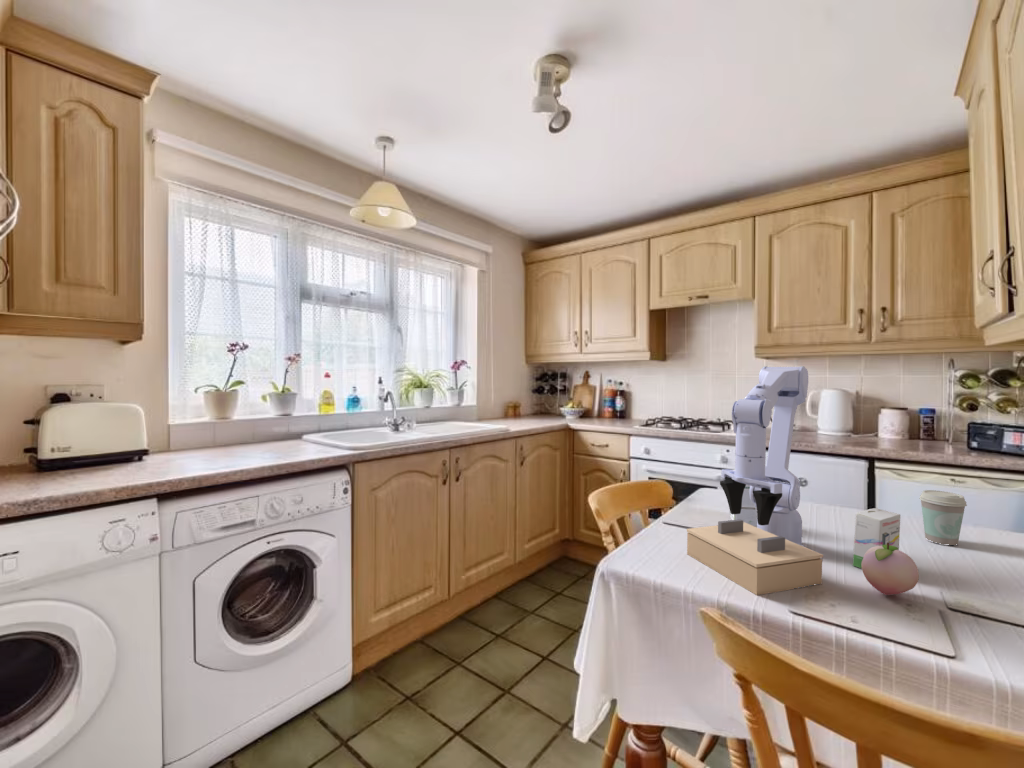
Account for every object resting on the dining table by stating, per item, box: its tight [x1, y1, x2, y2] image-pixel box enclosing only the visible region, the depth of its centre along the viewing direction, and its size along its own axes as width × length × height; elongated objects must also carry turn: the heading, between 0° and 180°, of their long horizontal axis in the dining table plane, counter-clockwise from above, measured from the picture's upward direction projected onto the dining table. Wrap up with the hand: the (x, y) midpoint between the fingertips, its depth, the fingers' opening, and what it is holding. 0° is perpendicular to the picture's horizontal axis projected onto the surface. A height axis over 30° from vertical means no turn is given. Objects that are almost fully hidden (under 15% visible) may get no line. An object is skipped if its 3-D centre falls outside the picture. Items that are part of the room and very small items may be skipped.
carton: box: [686, 532, 823, 596], centre depth 97 cm, size 16×20×5 cm
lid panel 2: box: [718, 536, 824, 568], centre depth 92 cm, size 16×10×3 cm, turn 106°
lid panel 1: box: [686, 519, 777, 547], centre depth 102 cm, size 16×10×3 cm, turn 106°
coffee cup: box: [919, 489, 968, 545], centre depth 112 cm, size 8×9×12 cm
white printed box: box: [729, 484, 757, 527], centre depth 126 cm, size 6×6×14 cm
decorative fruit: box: [861, 542, 920, 596], centre depth 85 cm, size 9×8×10 cm
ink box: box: [852, 507, 901, 569], centre depth 98 cm, size 9×5×12 cm, turn 117°
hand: (748, 518), depth 97 cm, fingers open, 7 cm apart
